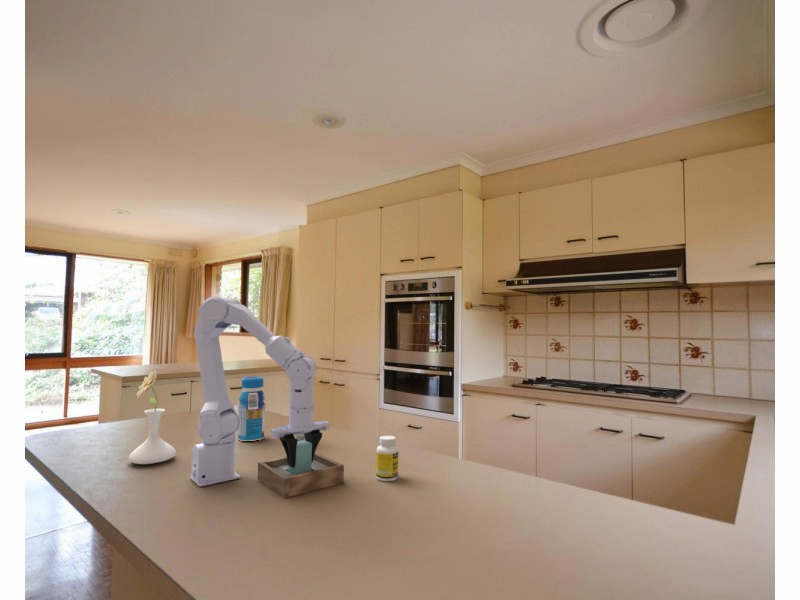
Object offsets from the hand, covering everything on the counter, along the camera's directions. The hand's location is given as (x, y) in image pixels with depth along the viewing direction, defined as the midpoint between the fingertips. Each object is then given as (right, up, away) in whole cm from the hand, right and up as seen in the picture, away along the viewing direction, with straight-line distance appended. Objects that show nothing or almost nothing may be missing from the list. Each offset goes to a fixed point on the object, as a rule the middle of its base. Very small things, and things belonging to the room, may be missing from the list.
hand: (300, 464), depth 105 cm
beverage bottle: (-25, -6, +38) cm, 46 cm away
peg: (0, -3, 0) cm, 3 cm away
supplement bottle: (+21, -4, +2) cm, 21 cm away
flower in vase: (-43, -5, +14) cm, 46 cm away
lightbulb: (-8, -6, +33) cm, 34 cm away
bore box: (0, -4, 0) cm, 4 cm away
